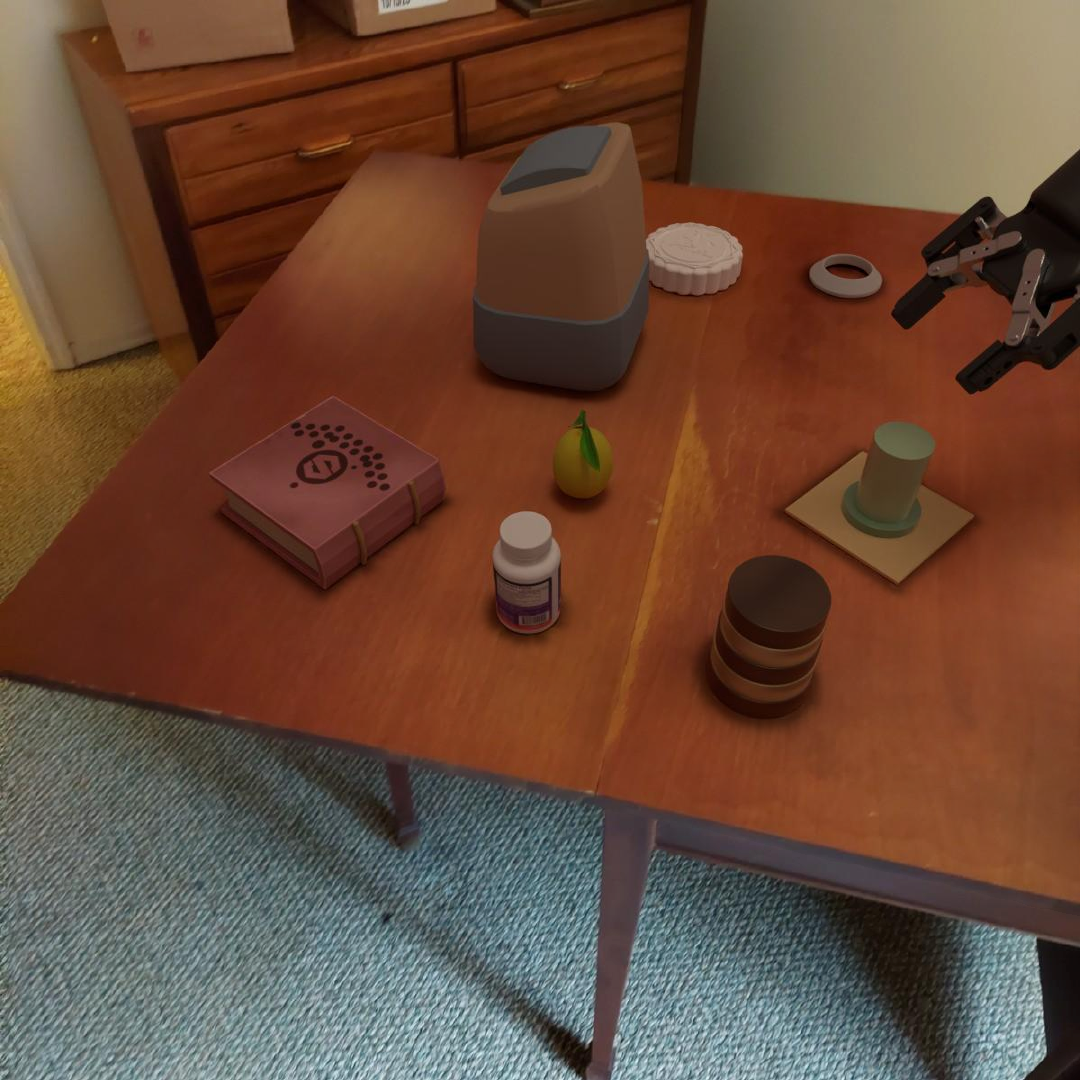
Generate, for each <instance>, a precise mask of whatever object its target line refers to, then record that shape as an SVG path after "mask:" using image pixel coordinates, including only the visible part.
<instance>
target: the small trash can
mask: <svg viewBox="0 0 1080 1080" xmlns="http://www.w3.org/2000/svg"><path fill="white" fill-rule="evenodd" d="M638 162H639V161H638V157H637V152H636V149H635V143H634V138H633V133H632V129H631V127H630V125H629V124H626V123H623V122H618V121H616V122H615V121H614V122H608V123H601V124H598V125H580V126H573V127H567V128H563V129H560V130H557V131H554V132H551V133H549V134H546V135H545V136H542V137H541V138H538V139H536V140H535V141H534V142H532V143H531V144H529V145H527V146H526V147H525V149H524V150H523V152H522V154H521V155H519V157H517V159H516V160H515V161H514V163H513V165H512V166H511V167H510V168H509V170H508V172H507V173H506V175H504V178H503V179H502V181H501V182H500V184H499V185H498V186H497V188H496V189H495V191H494V192H493V193H492V195H491V196H490V198H489V200H487V203H486V205H485V209H484V212H483V214H482V217H481V220H480V226H479V230H478V236H477V237H478V239H477V250H476V252H477V254H476V281H475V282H476V283H475V285H474V288H473V295H472V309H473V310H472V316H473V317H472V318H473V321H472V323H473V325H472V326H473V328H472V329H473V348H474V350H475V351H476V354H477V356H478V358H479V361H481V363H483V364H484V366H485V367H486V368H487V369H488V370H490V371H491V372H493V373H494V374H495V375H498V376H500V377H503V378H506V379H508V380H513V381H521V382H526V383H531V384H538V385H542V386H543V385H544V386H551V387H556V388H563V389H568V390H574V391H579V392H598V391H601V390H605V389H607V388H610V387H612V386H613V385H615V384H616V383H617V382H618V381H619V380H620V379H621V378H622V377H623V376H624V375H625V374H626V371H627V368H628V366H629V363H630V362H631V358H632V356H633V353H634V351H635V349H636V345H637V343H638V340H639V338H640V335H641V332H642V329H643V327H644V324H645V322H646V319H647V316H648V314H649V309H650V308H649V307H650V306H649V305H650V281H649V251H648V249H647V247H646V239H647V235H646V222H645V221H646V220H645V209H644V208H645V207H644V194H643V184H642V177H641V173H640V167H639V163H638Z"/></svg>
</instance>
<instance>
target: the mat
mask: <svg viewBox="0 0 1080 1080" xmlns="http://www.w3.org/2000/svg"><path fill="white" fill-rule="evenodd" d="M867 455H868V452H865V451H864V450H862V451H861V452H859V453H858V454H856V455H855V456H854V457H853V458H851V459H850V460H848V461H847V462H846V463H844V464H843V465H842V466H840V467H839V468H838V469H837V470H834V472H833V473H831V474H830V475H828V476H827V477H826V478H825V479H823V480H822V481H821V482H819V483H818V484H817V485H815V486H814V487H812V488H811V489H810V490H809V491H808V492H806V493H804V494H803V495H802V496H801V497H799V498H798V499H796V501H794V502H793V503H791V504H790V505H789V506H787V507H786V508H785V509H784V513H785V514H787V515H788V516H790V517H791V518H793V519H794V520H796V521H797V522H798V523H801V524H802V525H803V526H805V527H806V528H808V529H809V530H811V531H812V532H814V533H816V534H817V535H819V536H820V537H822V538H824V539H825V540H827V541H828V542H830V543H832V544H833V546H836V547H838V548H839V549H840V550H842V551H844V552H845V553H847V554H848V555H849V556H851V557H852V558H854V559H856V560H857V561H859V562H860V563H862V564H863V565H865V566H866V567H868V568H869V569H871V570H873V571H874V572H876V573H877V574H879V575H880V576H882V577H883V578H885V579H887V580H888V581H889V582H891V583H893V584H894V585H895V586H898V585H899V584H900V583H902V582H903V581H904V580H905V579H906V578H907V577H908V576H909V575H911V574H912V573H913V572H914V571H915V570H916V569H918V567H920V566H921V565H922V564H923V563H924V562H925V561H926V560H927V559H929V558H930V557H931V556H932V555H934V553H936V552H937V550H940V548H941V547H943V546H944V545H945V544H946V543H947V542H948V541H949V540H950V539H951V538H952V537H953V536H955V535H956V534H957V533H958V532H959V531H961V529H963V528H964V527H965V526H966V525H967V524H968V523H969V522H971V521H972V520H973V519H974V517H975V515H974V514H973V513H971V512H970V511H968V510H966V509H964V508H962V507H961V506H959V505H958V504H955V503H953V501H950V500H949V499H947V498H945V497H943V496H942V495H940V494H938V493H936V492H935V491H933V490H931V489H929V488H928V487H926V486H924V485H923V484H921V486H920V489H919V492H918V494H917V497H916V498H917V499H918V501H919V503H920V505H921V516H920V519H919V521H918V524H917V526H916V528H915V529H914V530H913V531H912V532H910V533H909V534H907V535H905V536H902V537H898V538H879V537H875V536H871V535H868V534H866V533H863V532H861V531H860V530H858V529H856V528H855V527H853V526H852V525H851V524H850V523H849V522H848V521H847V519H846V518H845V516H844V514H843V512H842V507H841V505H842V500H843V497H844V493H845V491H846V490H847V488H848V487H849V486H850V485H852V484H853V483H855V482H857V481H859V480H860V477H861V474H862V471H863V467H864V464H865V461H866V458H867Z"/></svg>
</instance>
